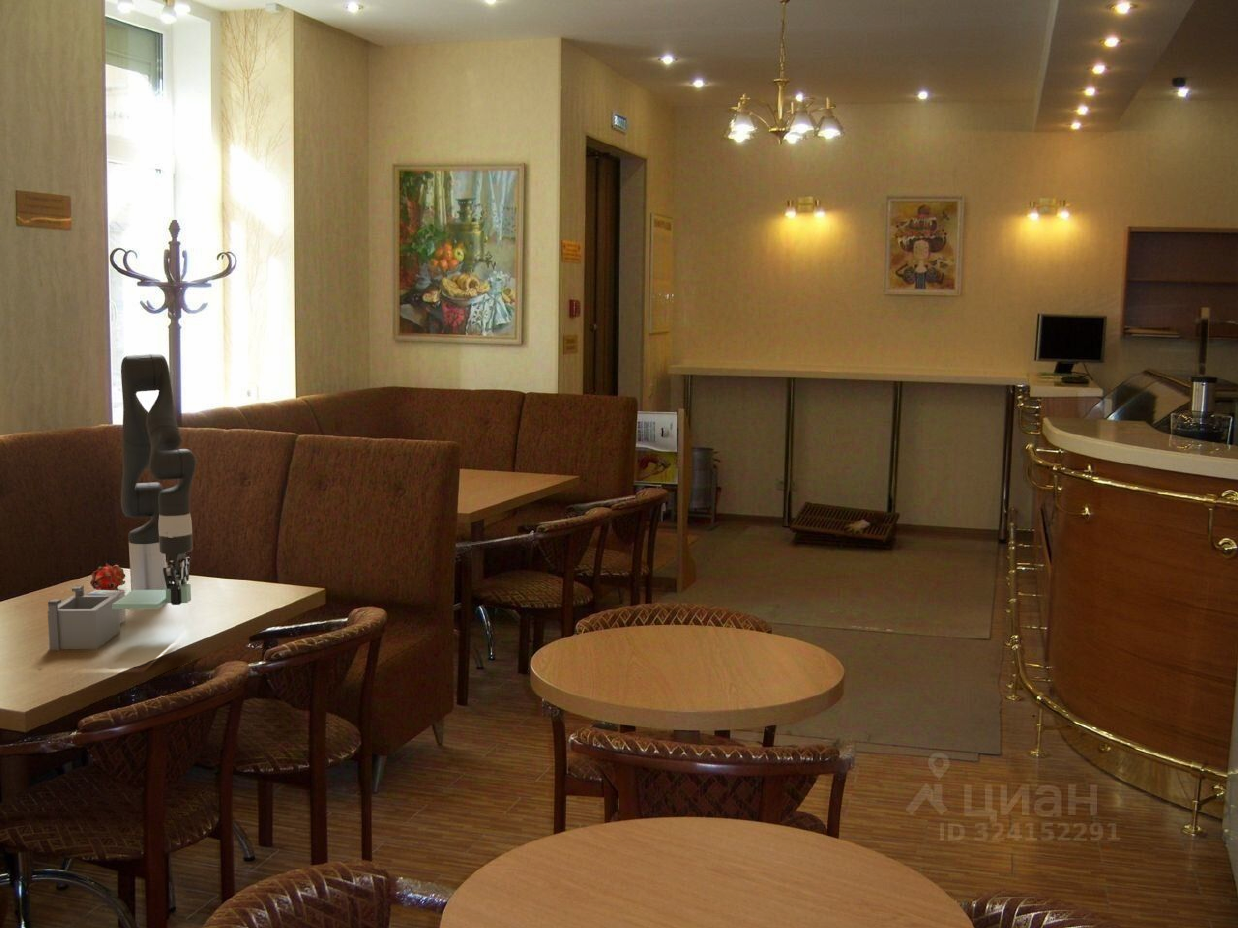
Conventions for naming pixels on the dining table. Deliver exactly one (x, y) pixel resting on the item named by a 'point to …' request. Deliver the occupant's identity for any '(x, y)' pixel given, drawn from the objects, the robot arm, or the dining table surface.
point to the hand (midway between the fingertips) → (178, 602)
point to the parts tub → (82, 621)
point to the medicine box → (112, 592)
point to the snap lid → (150, 598)
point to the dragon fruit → (107, 578)
